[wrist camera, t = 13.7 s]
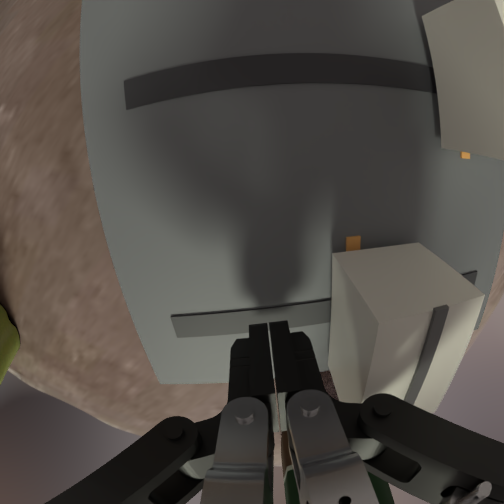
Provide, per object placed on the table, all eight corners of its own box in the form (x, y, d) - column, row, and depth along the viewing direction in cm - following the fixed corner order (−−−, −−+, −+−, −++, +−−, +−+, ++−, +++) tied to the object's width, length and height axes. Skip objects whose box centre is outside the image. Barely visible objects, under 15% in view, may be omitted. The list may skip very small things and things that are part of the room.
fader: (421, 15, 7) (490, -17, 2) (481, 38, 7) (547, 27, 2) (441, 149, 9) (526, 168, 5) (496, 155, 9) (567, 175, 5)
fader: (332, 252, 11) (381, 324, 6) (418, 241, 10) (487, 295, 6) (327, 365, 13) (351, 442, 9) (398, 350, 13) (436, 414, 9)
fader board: (108, 15, 9) (81, -5, 6) (455, 16, 9) (484, 5, 6) (170, 349, 17) (159, 385, 14) (455, 305, 16) (478, 329, 13)
